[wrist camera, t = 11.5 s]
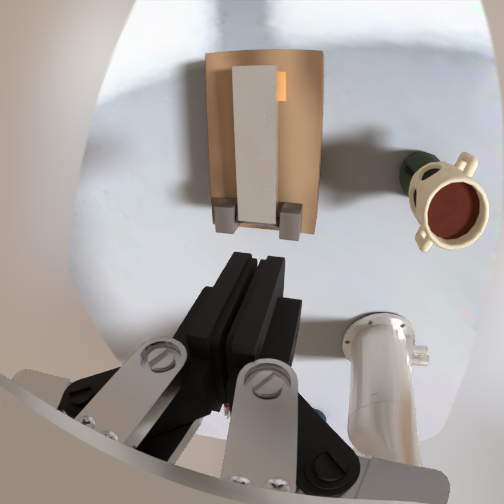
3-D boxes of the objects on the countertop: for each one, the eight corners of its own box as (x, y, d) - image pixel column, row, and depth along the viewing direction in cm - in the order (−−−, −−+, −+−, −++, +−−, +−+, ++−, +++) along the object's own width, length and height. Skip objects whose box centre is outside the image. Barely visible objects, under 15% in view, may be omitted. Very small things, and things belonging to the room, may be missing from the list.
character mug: (416, 123, 30) (456, 141, 19) (461, 152, 30) (511, 183, 19) (378, 198, 36) (396, 247, 25) (423, 222, 36) (452, 277, 25)
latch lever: (281, 65, 24) (279, 65, 23) (280, 224, 33) (278, 229, 32) (232, 66, 25) (228, 66, 24) (239, 220, 34) (235, 225, 33)
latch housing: (323, 57, 29) (321, 46, 22) (317, 214, 39) (312, 246, 32) (224, 58, 32) (193, 50, 24) (228, 205, 42) (203, 234, 34)
